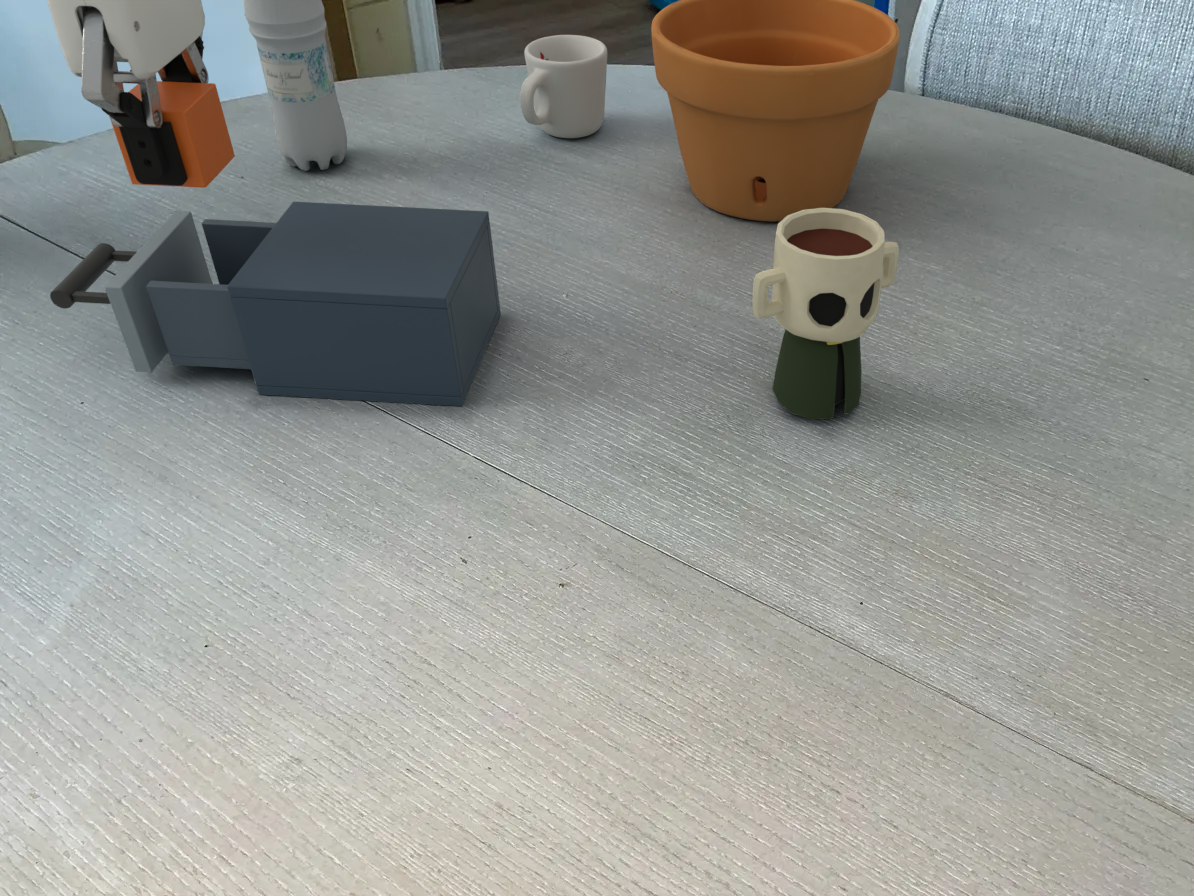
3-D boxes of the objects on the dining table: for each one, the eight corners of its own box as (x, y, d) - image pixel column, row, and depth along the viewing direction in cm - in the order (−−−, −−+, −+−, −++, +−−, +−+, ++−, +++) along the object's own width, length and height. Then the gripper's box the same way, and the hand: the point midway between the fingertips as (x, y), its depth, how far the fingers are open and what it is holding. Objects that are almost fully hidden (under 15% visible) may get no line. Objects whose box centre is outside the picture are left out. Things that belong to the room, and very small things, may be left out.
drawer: (56, 367, 83) (20, 282, 79) (129, 287, 92) (100, 206, 87) (322, 383, 83) (301, 297, 78) (370, 300, 91) (354, 219, 87)
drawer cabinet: (258, 394, 83) (226, 286, 77) (317, 303, 92) (293, 201, 87) (462, 406, 82) (445, 298, 77) (501, 313, 92) (488, 210, 86)
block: (131, 184, 77) (106, 109, 74) (164, 153, 81) (141, 80, 78) (206, 188, 77) (183, 112, 74) (235, 156, 81) (215, 83, 77)
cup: (561, 162, 113) (555, 78, 107) (497, 143, 116) (487, 60, 110) (626, 125, 120) (623, 44, 114) (563, 107, 123) (558, 28, 117)
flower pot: (663, 138, 117) (661, -20, 108) (874, 145, 117) (891, -13, 107) (645, 237, 102) (640, 63, 92) (888, 246, 101) (910, 71, 91)
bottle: (267, 171, 110) (209, -61, 97) (302, 143, 115) (252, -82, 102) (332, 180, 109) (283, -54, 96) (365, 151, 114) (323, -75, 101)
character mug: (773, 447, 79) (783, 274, 71) (725, 393, 84) (729, 224, 75) (908, 407, 83) (933, 238, 75) (854, 357, 88) (873, 193, 79)
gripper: (95, -177, 73) (180, 112, 85) (-62, -110, 60) (64, 219, 72) (213, -174, 73) (282, 116, 85) (80, -105, 60) (183, 225, 72)
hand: (181, 161), depth 78 cm, fingers closed on block, 5 cm apart
